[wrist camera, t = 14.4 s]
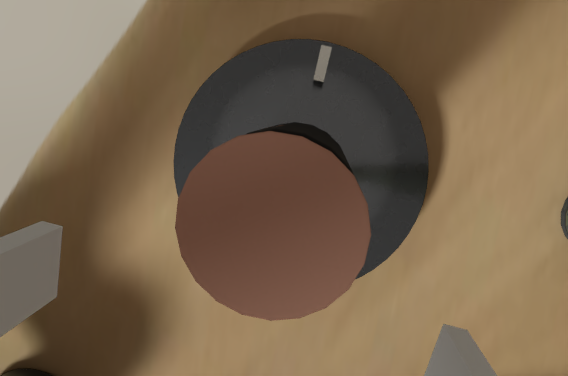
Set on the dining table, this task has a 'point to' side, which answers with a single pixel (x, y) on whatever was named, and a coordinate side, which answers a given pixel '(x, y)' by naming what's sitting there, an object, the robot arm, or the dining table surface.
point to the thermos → (565, 218)
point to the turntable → (320, 124)
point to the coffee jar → (274, 222)
